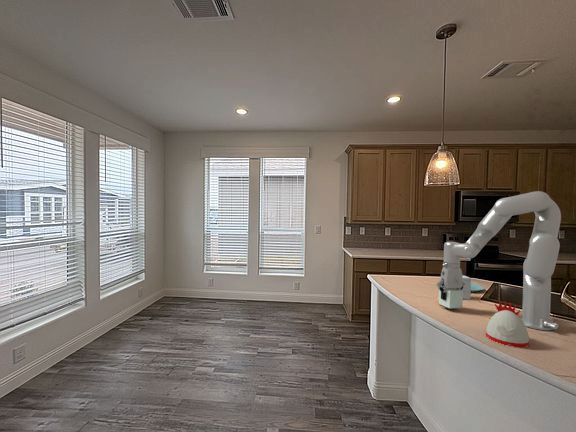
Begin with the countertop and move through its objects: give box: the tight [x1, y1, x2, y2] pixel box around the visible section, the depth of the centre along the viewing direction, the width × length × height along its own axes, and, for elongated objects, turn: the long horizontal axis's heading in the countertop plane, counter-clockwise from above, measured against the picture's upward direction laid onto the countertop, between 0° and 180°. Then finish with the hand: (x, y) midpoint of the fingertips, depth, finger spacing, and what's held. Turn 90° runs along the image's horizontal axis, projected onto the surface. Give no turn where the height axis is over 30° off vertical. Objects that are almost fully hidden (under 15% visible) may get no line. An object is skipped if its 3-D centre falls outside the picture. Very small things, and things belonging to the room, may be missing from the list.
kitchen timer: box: [485, 301, 530, 348], centre depth 117 cm, size 14×14×15 cm
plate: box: [471, 282, 485, 293], centre depth 194 cm, size 22×22×3 cm
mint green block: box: [438, 288, 464, 309], centre depth 153 cm, size 8×8×9 cm
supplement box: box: [462, 274, 472, 300], centre depth 174 cm, size 7×7×13 cm
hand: (450, 299), depth 153 cm, fingers closed on mint green block, 7 cm apart
